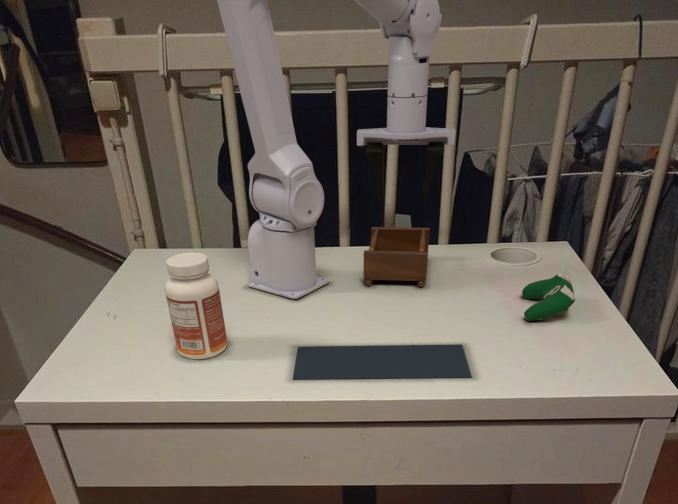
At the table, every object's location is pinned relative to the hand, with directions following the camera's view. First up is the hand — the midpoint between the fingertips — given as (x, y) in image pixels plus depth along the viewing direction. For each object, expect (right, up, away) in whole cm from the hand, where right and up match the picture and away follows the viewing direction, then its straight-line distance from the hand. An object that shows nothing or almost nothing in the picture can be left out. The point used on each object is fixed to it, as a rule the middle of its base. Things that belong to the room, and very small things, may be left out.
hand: (403, 196), depth 98 cm
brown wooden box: (-1, -13, -3) cm, 13 cm away
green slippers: (+17, -22, -15) cm, 32 cm away
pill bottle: (-27, -29, -21) cm, 45 cm away
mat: (-6, -31, -25) cm, 40 cm away
